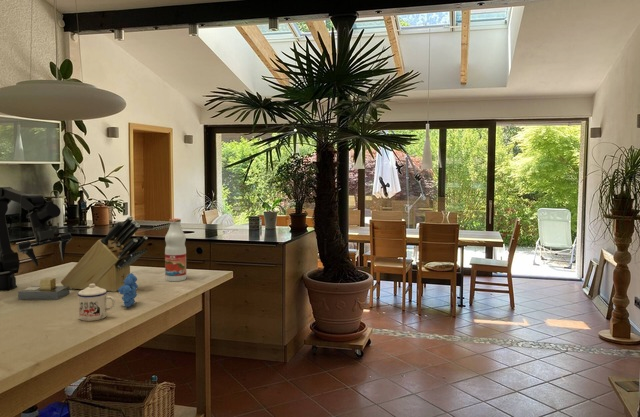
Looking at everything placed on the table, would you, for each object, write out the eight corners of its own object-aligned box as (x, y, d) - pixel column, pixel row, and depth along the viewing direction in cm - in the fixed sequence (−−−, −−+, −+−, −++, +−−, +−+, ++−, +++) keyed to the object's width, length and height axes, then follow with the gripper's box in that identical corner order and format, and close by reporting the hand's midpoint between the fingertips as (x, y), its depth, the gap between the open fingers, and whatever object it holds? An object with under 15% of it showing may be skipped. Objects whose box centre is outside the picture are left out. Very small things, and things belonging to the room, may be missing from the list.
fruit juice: (189, 277, 239) (189, 218, 236) (181, 282, 229) (180, 220, 227) (170, 276, 240) (169, 217, 238) (161, 281, 231) (160, 219, 228)
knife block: (135, 293, 207) (134, 218, 205) (60, 289, 214) (57, 216, 212) (150, 287, 218) (149, 215, 216) (77, 283, 225) (75, 213, 223)
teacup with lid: (74, 321, 170) (73, 287, 169) (84, 313, 179) (83, 281, 178) (111, 321, 171) (110, 286, 170) (119, 313, 180) (118, 280, 179)
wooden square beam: (40, 297, 200) (40, 280, 199) (45, 295, 204) (45, 278, 203) (50, 297, 200) (50, 280, 199) (56, 295, 204) (55, 278, 203)
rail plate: (18, 299, 197) (18, 291, 197) (32, 293, 207) (32, 285, 207) (57, 299, 197) (57, 291, 197) (69, 293, 207) (69, 285, 207)
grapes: (123, 301, 195) (123, 270, 194) (141, 301, 196) (141, 270, 195) (113, 310, 184) (112, 277, 183) (132, 309, 184) (131, 277, 183)
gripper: (15, 225, 188) (26, 265, 187) (69, 215, 200) (80, 253, 198) (12, 232, 197) (23, 271, 195) (64, 222, 209) (74, 258, 207)
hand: (50, 263), depth 199 cm, fingers open, 9 cm apart
